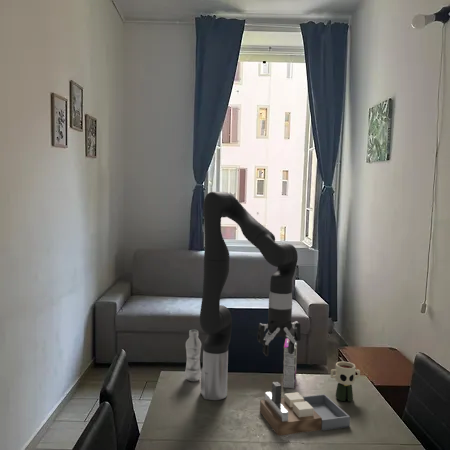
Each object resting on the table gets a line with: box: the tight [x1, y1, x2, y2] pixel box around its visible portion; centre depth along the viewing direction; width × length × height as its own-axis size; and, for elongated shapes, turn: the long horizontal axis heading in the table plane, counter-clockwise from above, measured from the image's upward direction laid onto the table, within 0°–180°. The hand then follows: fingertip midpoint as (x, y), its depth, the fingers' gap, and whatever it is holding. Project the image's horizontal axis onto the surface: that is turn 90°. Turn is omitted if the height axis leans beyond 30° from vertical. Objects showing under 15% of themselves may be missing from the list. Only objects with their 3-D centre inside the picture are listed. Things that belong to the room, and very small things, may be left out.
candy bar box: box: [282, 337, 298, 390], centre depth 181 cm, size 11×5×16 cm, turn 168°
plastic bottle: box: [184, 329, 202, 382], centre depth 181 cm, size 6×7×20 cm
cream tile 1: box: [283, 391, 304, 407], centre depth 155 cm, size 5×5×2 cm
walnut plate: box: [259, 397, 322, 436], centre depth 151 cm, size 15×16×4 cm
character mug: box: [330, 361, 361, 402], centre depth 168 cm, size 11×7×13 cm, turn 91°
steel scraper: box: [264, 381, 288, 422], centre depth 150 cm, size 2×15×9 cm, turn 16°
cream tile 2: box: [293, 401, 314, 417], centre depth 149 cm, size 5×5×2 cm
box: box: [302, 393, 351, 432], centre depth 155 cm, size 10×17×4 cm, turn 16°
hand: (278, 354), depth 149 cm, fingers open, 8 cm apart
